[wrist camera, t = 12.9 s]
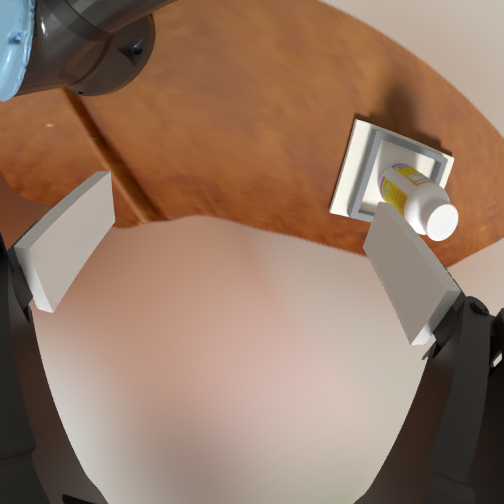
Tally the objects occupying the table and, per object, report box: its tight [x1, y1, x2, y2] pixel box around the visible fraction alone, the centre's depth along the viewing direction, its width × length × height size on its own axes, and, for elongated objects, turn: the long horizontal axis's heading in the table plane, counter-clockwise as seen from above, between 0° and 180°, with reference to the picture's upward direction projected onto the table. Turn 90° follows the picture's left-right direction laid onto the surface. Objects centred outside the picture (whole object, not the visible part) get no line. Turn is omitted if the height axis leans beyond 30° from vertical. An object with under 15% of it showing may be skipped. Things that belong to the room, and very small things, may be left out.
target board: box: [329, 119, 454, 235], centre depth 37 cm, size 18×14×2 cm
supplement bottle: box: [379, 163, 458, 241], centre depth 32 cm, size 7×7×13 cm
